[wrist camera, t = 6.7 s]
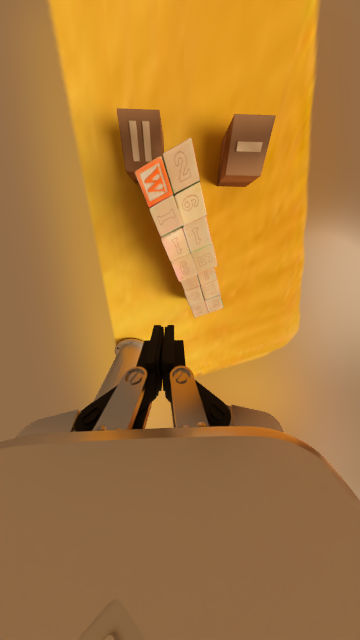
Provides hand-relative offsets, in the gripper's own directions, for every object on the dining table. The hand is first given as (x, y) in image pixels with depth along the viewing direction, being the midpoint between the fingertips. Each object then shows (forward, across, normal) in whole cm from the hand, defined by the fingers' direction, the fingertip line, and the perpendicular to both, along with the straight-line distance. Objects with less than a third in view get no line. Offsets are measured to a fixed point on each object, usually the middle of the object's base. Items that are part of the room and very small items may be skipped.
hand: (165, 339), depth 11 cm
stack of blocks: (+23, -4, -5) cm, 24 cm away
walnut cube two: (+22, +3, -18) cm, 29 cm away
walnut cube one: (+22, -11, -18) cm, 31 cm away
